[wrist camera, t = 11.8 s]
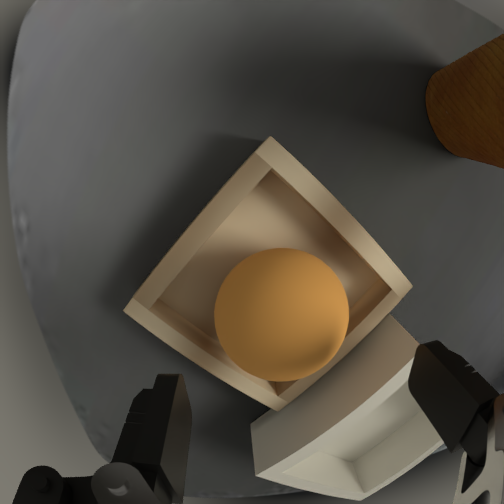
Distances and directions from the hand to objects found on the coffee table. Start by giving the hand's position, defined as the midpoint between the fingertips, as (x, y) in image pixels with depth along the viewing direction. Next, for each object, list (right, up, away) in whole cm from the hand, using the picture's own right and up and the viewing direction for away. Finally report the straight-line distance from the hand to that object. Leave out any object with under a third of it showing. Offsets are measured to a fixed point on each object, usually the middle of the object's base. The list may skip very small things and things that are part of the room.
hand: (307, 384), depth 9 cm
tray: (-1, +2, +8) cm, 8 cm away
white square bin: (+7, -8, +12) cm, 16 cm away
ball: (0, +1, +4) cm, 5 cm away
